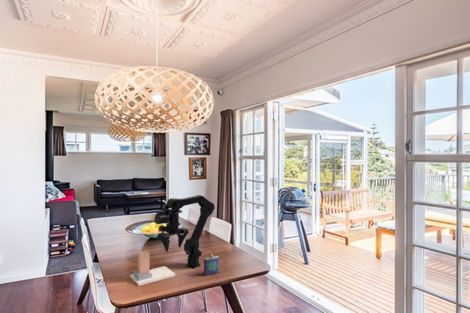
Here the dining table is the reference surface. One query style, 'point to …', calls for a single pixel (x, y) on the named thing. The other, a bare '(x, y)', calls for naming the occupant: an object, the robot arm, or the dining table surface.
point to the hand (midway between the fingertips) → (173, 249)
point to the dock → (152, 275)
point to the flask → (211, 265)
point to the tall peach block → (143, 262)
